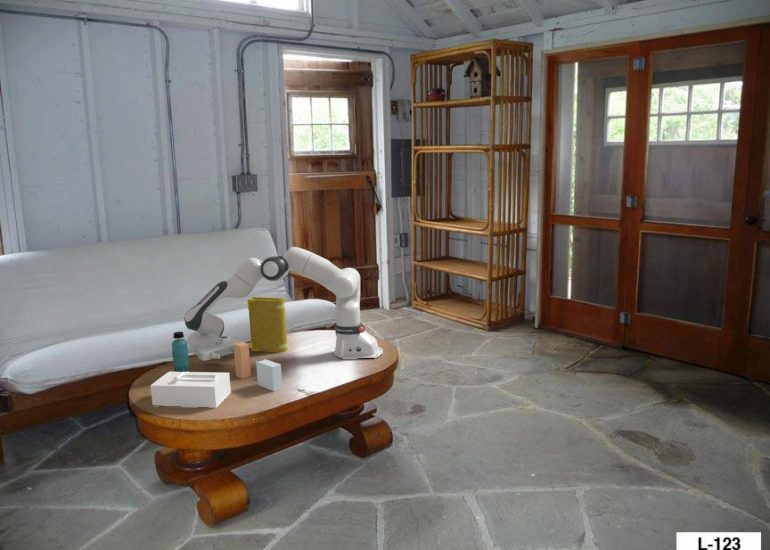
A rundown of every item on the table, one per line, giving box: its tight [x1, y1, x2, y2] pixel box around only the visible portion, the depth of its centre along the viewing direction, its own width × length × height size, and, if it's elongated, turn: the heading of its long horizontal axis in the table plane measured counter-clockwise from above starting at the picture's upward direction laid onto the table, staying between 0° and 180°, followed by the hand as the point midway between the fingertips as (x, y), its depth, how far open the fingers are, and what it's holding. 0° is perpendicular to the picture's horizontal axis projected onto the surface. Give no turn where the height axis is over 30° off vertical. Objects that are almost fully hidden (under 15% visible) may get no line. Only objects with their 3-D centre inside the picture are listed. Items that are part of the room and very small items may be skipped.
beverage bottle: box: [171, 331, 191, 372], centre depth 257 cm, size 6×7×20 cm
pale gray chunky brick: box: [255, 358, 283, 392], centre depth 245 cm, size 11×4×10 cm, turn 47°
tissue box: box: [150, 371, 232, 409], centre depth 235 cm, size 14×25×11 cm, turn 83°
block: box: [233, 341, 252, 379], centre depth 258 cm, size 5×4×14 cm
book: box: [247, 296, 289, 353], centre depth 290 cm, size 17×7×25 cm, turn 73°
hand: (230, 353), depth 262 cm, fingers open, 8 cm apart
